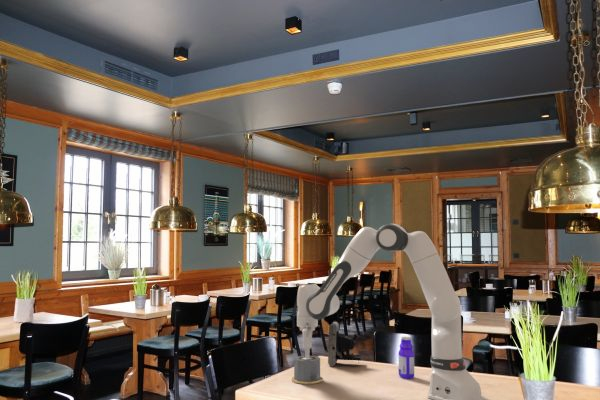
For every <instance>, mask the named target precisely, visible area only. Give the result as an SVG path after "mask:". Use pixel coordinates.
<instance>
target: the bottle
mask: <svg viewBox="0 0 600 400" xmlns="http://www.w3.org/2000/svg"><path fill="white" fill-rule="evenodd" d="M400 337H401V339H400V344H399V351H398V376H399V377H400V378H402V379H405V380H411V379H414V378H415V353H414V350H413V348H414V347H413V344H412V336H410V335H401V336H400Z"/></svg>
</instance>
